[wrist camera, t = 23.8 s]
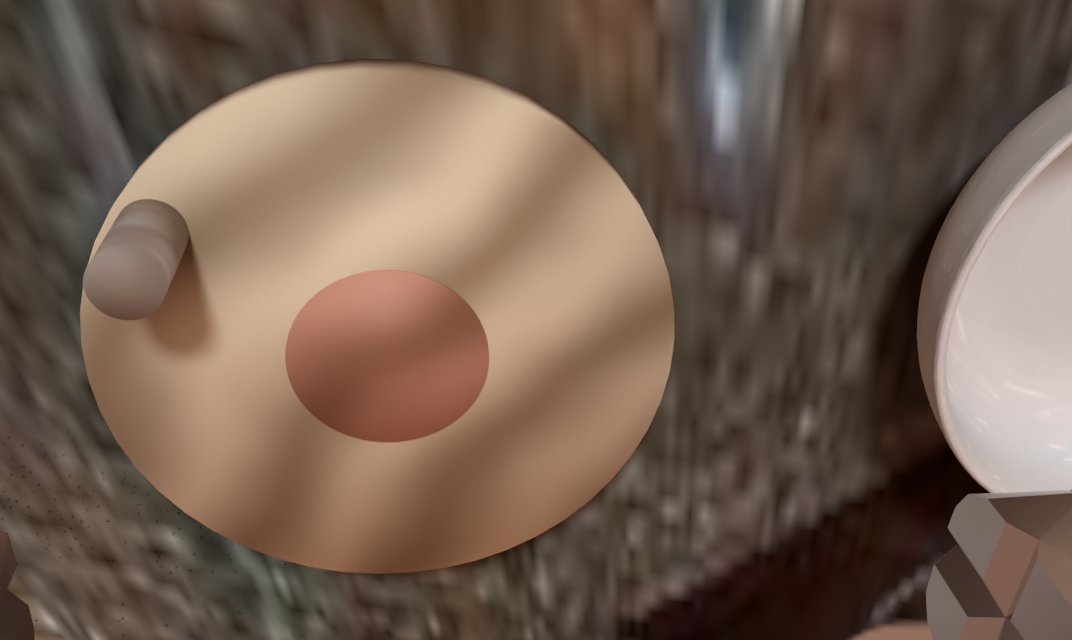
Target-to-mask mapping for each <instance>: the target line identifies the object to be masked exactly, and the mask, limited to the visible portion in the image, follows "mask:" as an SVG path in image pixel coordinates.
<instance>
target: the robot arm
mask: <svg viewBox="0 0 1072 640" xmlns="http://www.w3.org/2000/svg"><path fill="white" fill-rule="evenodd" d="M948 530H949V532H950V534H951V535H952V537H953V539H954V541H955V543H956V546H955V547H954V548H953V549H952V550H950V551H949V552H948V553H947V554H946V555H945V556H943V557H942V558H941V559H940V560H939V561H938V562H937V563H935V564H934V567H933V570H932V574H931V577H930V580H929V583H928V587H927V590H926V602H927V620H928V624H929V627H930V630H931V633H932V636H933V639H934V640H1072V490H1069V491H1066V490H1055V491H1032V492H1008V493H985V494H968V495H967V496H966V497H965V498H964V499H963V500H962V501H961V502H960V503H959V504H958V505H957V506H956V507H955V510H954V512H953V515H952V517H951V520H950V523H949V525H948ZM16 567H17V562H16V558H15V555H14V552H13V549H12V546H11V543H10V539H9V536H8V534H7V533H5V532H3V531H1V530H0V640H34V627H33V623H32V618H31V614H30V610H29V606H28V605H27V604H26V603H25V602H23V601H22V600H21V599H19V598H18V597H17V596H15V595H14V594H13V593H11V592H10V591H9V590H7V588H8V586H9V584H10V581H11V579H12V576H13V574H14V572H15V569H16Z"/></svg>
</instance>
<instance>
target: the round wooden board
mask: <svg viewBox="0 0 1072 640" xmlns="http://www.w3.org/2000/svg"><path fill="white" fill-rule="evenodd" d="M80 322H81V346H82V351H83V356H84V361H85V366H86V371H87V376H88V380H89V383H90V385H91V388H92V391H93V393H94V396H95V399H96V402H97V404H98V407H99V410H100V412H101V414H102V416H103V417H104V419H105V421H106V423H107V425H108V427H109V428H110V430H111V432H112V434H113V436H114V438H115V439H116V441H117V442H118V444H119V445H120V446H121V448H122V449H123V450H124V452H125V453H126V455H127V456H128V457H129V459H130V460H131V461H132V463H133V464H134V465H135V467H136V468H137V469H138V470H139V471H140V472H141V473H142V474H143V475H144V476H145V477H146V478H147V479H148V480H149V481H150V482H151V483H152V485H153V486H154V487H155V488H156V489H157V490H158V491H159V492H160V493H162V494H163V495H164V496H165V497H167V498H168V499H169V500H170V501H171V502H173V503H174V504H175V505H176V506H178V507H179V508H180V509H181V510H183V511H184V512H185V513H186V514H188V515H190V516H191V517H193V518H194V519H196V520H197V521H199V522H200V523H202V524H204V525H205V526H207V527H208V528H210V529H211V530H213V531H215V532H217V533H219V534H221V535H223V536H225V537H227V538H229V539H231V540H233V541H235V542H237V543H239V544H241V545H243V546H245V547H248V548H251V549H253V550H256V551H259V552H261V553H264V554H267V555H270V556H272V557H275V558H278V559H282V560H286V561H290V562H294V563H297V564H301V565H305V566H309V567H315V568H321V569H328V570H334V571H340V572H354V573H370V574H386V573H411V572H419V571H426V570H434V569H441V568H446V567H451V566H455V565H459V564H464V563H468V562H472V561H476V560H479V559H482V558H485V557H488V556H491V555H494V554H497V553H500V552H503V551H506V550H508V549H510V548H512V547H514V546H517V545H519V544H521V543H523V542H525V541H528V540H530V539H532V538H534V537H536V536H538V535H540V534H541V533H543V532H545V531H546V530H548V529H550V528H551V527H553V526H555V525H556V524H558V523H560V522H562V521H563V520H565V519H566V518H567V517H569V516H570V515H571V514H573V513H574V512H575V511H577V510H578V509H579V508H581V507H582V506H583V505H585V504H586V503H587V502H589V501H590V500H591V499H592V498H593V497H594V496H595V495H596V494H597V493H598V492H599V491H600V490H601V489H602V488H603V487H604V486H605V485H607V484H608V483H609V482H610V481H611V480H612V479H613V477H614V476H615V475H616V474H617V473H618V471H619V470H620V469H621V468H622V466H623V465H624V464H625V463H626V462H627V460H628V459H629V458H630V457H631V456H632V454H633V452H634V451H635V449H636V448H637V446H638V444H639V443H640V441H641V440H642V438H643V437H644V435H645V433H646V432H647V430H648V428H649V426H650V424H651V422H652V420H653V417H654V415H655V413H656V411H657V409H658V406H659V404H660V402H661V399H662V396H663V392H664V389H665V386H666V382H667V379H668V376H669V372H670V366H671V359H672V353H673V346H674V305H673V298H672V292H671V286H670V279H669V275H668V271H667V268H666V265H665V262H664V259H663V256H662V253H661V250H660V246H659V243H658V241H657V239H656V237H655V235H654V233H653V231H652V229H651V227H650V225H649V223H648V221H647V219H646V217H645V215H644V213H643V211H642V209H641V207H640V205H639V203H638V201H637V199H636V197H635V195H634V194H633V192H632V191H631V189H630V188H629V186H628V185H627V183H626V182H625V181H624V179H623V178H622V176H621V175H620V173H619V172H618V170H617V169H616V168H615V166H614V165H613V164H612V163H611V162H610V161H609V160H608V159H607V158H606V157H605V156H604V155H603V153H602V152H601V151H600V150H599V149H598V148H597V147H596V146H595V145H594V144H593V143H592V142H591V141H590V140H589V139H588V138H587V137H586V136H585V135H583V134H582V133H581V132H580V131H578V130H577V129H576V128H575V127H573V126H572V125H571V124H570V123H568V122H567V121H566V120H565V119H564V118H562V117H561V116H560V115H558V114H557V113H555V112H553V111H552V110H550V109H548V108H547V107H545V106H543V105H542V104H540V103H538V102H537V101H535V100H533V99H532V98H530V97H528V96H527V95H525V94H523V93H520V92H518V91H516V90H514V89H511V88H509V87H507V86H504V85H502V84H500V83H498V82H495V81H493V80H491V79H488V78H485V77H482V76H478V75H475V74H471V73H468V72H464V71H461V70H458V69H454V68H451V67H447V66H441V65H434V64H428V63H421V62H415V61H408V60H384V59H357V60H347V61H337V62H328V63H319V64H314V65H310V66H306V67H302V68H298V69H294V70H289V71H285V72H281V73H277V74H274V75H272V76H269V77H267V78H264V79H262V80H259V81H256V82H254V83H251V84H249V85H246V86H243V87H241V88H238V89H236V90H235V91H233V92H231V93H229V94H227V95H226V96H224V97H222V98H220V99H218V100H217V101H215V102H213V103H211V104H209V105H208V106H206V107H204V108H202V109H201V110H200V111H198V112H197V113H196V114H194V115H193V116H192V117H190V118H189V119H188V120H186V121H185V122H184V123H183V124H181V125H180V126H179V127H177V128H176V129H175V130H173V131H172V132H171V133H170V134H169V135H168V136H167V137H166V138H165V139H164V140H163V141H162V142H161V143H160V144H159V145H158V146H157V147H156V148H155V149H154V150H153V151H152V152H151V153H150V154H149V155H148V156H147V157H146V159H145V160H144V161H143V162H142V163H141V165H140V166H139V168H138V169H137V170H136V172H135V173H134V175H133V176H132V178H131V179H130V180H129V182H128V183H127V185H126V186H125V187H124V189H123V190H122V192H121V193H120V195H119V197H118V198H117V200H116V201H115V203H114V205H113V206H112V208H111V210H110V212H109V214H108V216H107V218H106V220H105V222H104V224H103V226H102V228H101V230H100V232H99V234H98V236H97V238H96V240H95V243H94V246H93V249H92V253H91V256H90V259H89V263H88V266H87V268H86V270H85V272H84V276H83V292H82V300H81V308H80Z"/></svg>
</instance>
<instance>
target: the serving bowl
mask: <svg viewBox="0 0 1072 640" xmlns="http://www.w3.org/2000/svg"><path fill="white" fill-rule="evenodd" d="M917 346H918V356H919V365H920V370H921V376H922V379H923V383H924V387H925V390H926V394H927V397H928V400H929V403H930V406H931V408H932V411H933V413H934V416H935V418H936V420H937V422H938V424H939V426H940V429H941V431H942V433H943V435H944V437H945V439H946V441H947V443H948V445H949V446H950V448H951V450H952V451H953V453H954V455H955V456H956V458H957V459H958V461H959V462H960V463H961V465H962V466H963V467H964V469H965V470H966V471H967V472H968V473H969V474H970V475H971V476H972V478H973V479H974V480H976V481H977V482H978V483H979V484H980V485H981V486H982V487H983V488H985V489H986V490H987V491H988V492H990V493H1008V492H1032V491H1055V490H1066V491H1069V490H1072V83H1071V84H1069V85H1068V86H1066V87H1065V88H1063V89H1062V90H1060V91H1059V92H1058V93H1056V94H1055V95H1054V96H1052V97H1051V98H1050V99H1048V100H1047V101H1045V102H1044V103H1043V104H1041V105H1040V106H1039V107H1037V108H1036V109H1035V110H1034V111H1033V112H1032V113H1030V114H1029V115H1028V116H1027V117H1026V118H1025V119H1024V120H1022V121H1021V122H1020V123H1019V124H1018V125H1017V126H1016V127H1015V128H1014V129H1013V130H1012V131H1011V132H1010V133H1009V134H1008V135H1007V136H1006V137H1005V138H1004V139H1003V140H1002V141H1001V142H1000V143H999V144H998V145H997V146H996V147H995V148H994V149H993V150H992V152H991V153H990V154H989V155H988V156H987V157H986V158H985V160H984V161H983V162H982V163H981V165H980V166H979V167H978V169H977V170H976V171H975V172H974V174H973V175H972V176H971V178H970V179H969V181H968V182H967V184H966V185H965V186H964V188H963V189H962V191H961V192H960V194H959V196H958V197H957V199H956V201H955V203H954V204H953V206H952V208H951V209H950V211H949V213H948V215H947V217H946V219H945V221H944V223H943V225H942V227H941V229H940V231H939V233H938V236H937V238H936V241H935V243H934V246H933V248H932V251H931V254H930V257H929V260H928V263H927V267H926V270H925V274H924V278H923V282H922V287H921V292H920V299H919V306H918V318H917Z"/></svg>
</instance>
